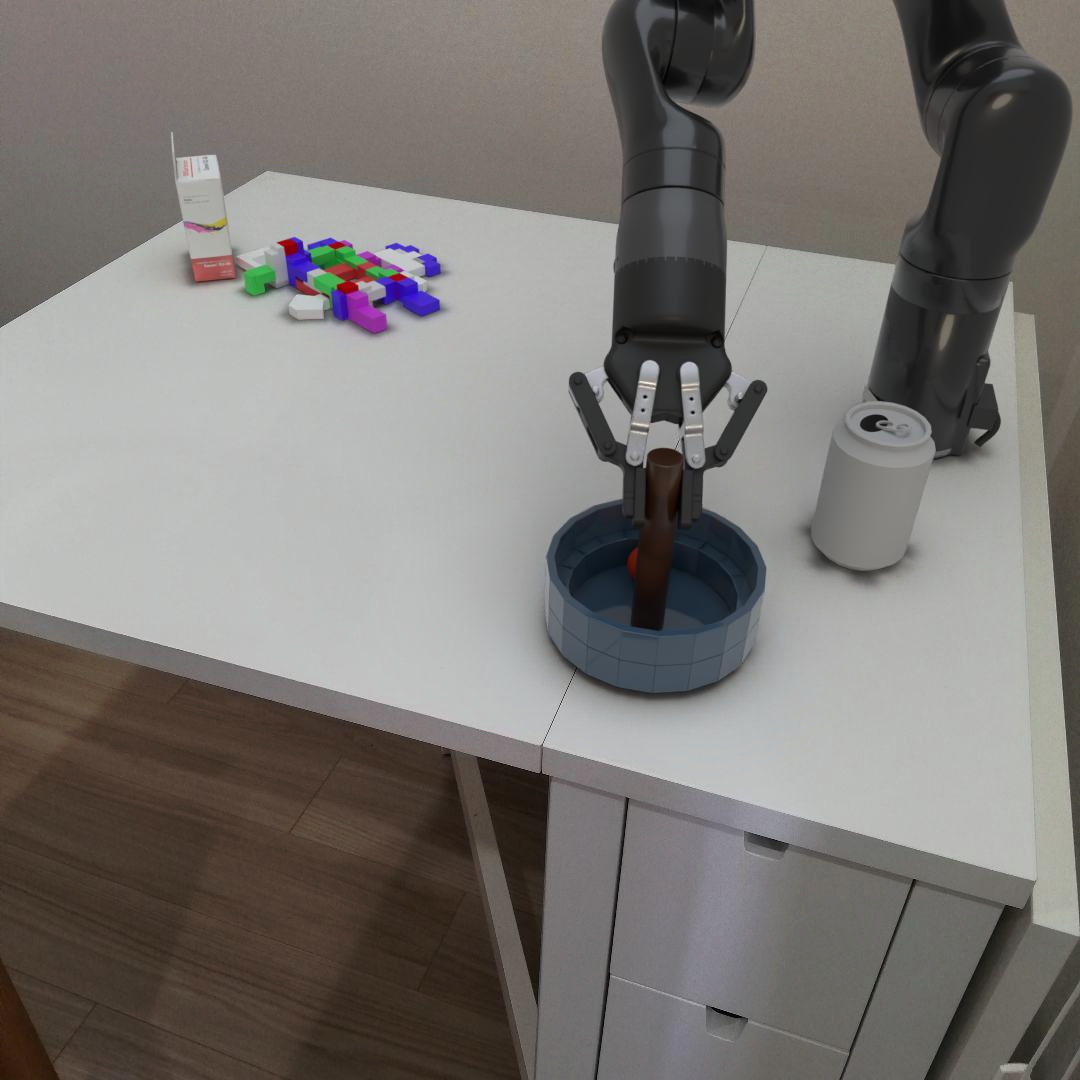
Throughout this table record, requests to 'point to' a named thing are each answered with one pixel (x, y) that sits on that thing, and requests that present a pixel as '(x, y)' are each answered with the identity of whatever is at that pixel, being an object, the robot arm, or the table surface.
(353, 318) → the building block set
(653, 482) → the stick
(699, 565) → the bowl
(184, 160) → the ink cartridge box
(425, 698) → the table surface
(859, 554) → the can
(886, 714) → the table surface
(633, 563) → the ball
